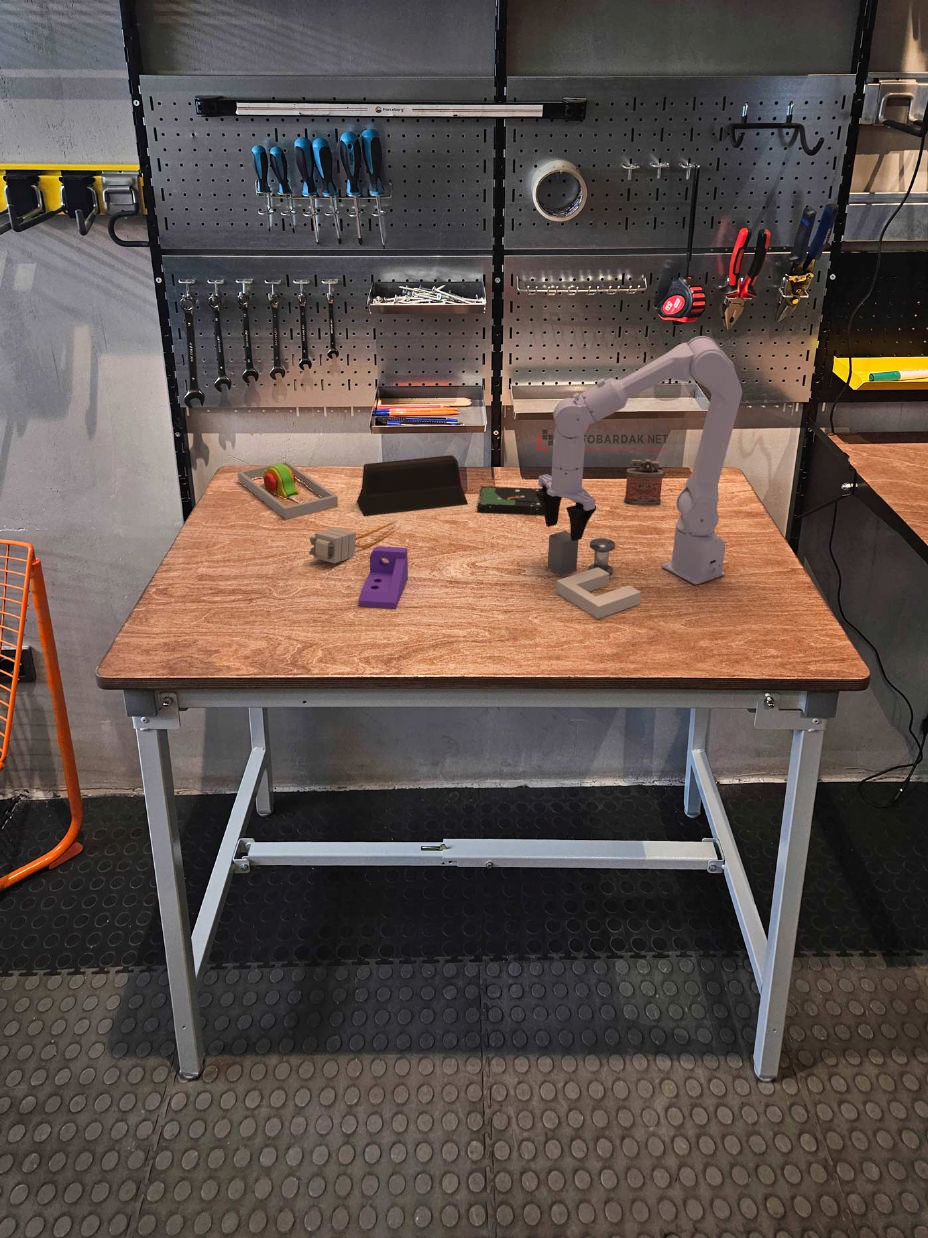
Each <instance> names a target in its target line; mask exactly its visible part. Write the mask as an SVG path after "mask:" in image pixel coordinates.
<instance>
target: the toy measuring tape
mask: <svg viewBox="0 0 928 1238" xmlns="http://www.w3.org/2000/svg"><path fill="white" fill-rule="evenodd" d="M262 479H263V485H264V486H265V488H266V490H267V491H268V492H269V491H270V492H271V491H272V492H273V493H275V494H277V495H279V496H282V497H283V498H289V499H291V500H293V501H294V502H295V503H296V502H299V501H297V500H296V499H294V497H292V496H295V495H298V494H299V495H300V493H299V490H298V489H297V487H296V481H297V480H296V478H295V474H294V472H293V471H292V470H291V469H289V467H287V466H286V465H283V464H278V465H274V466H271V467H269V468H268V469H267V470H264V474H263V478H262ZM272 492H271V493H272ZM273 493H272V494H273ZM275 494H274V495H275ZM277 495H276V496H277ZM279 496H278V497H279ZM297 497H298V498H301V497H299V496H297ZM283 498H282V499H283ZM302 499H303V500H305V501H306V502H308V500H307V499H304V498H302Z"/></svg>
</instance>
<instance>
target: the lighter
mask: <svg viewBox="0 0 928 1238" xmlns="http://www.w3.org/2000/svg"><path fill="white" fill-rule="evenodd" d="M631 467H633V468H631ZM659 467H660V461H656V460H655V461H654V460H651V459H650V458H646V459H645V460H642V459H632V460H630V468H626V485H625V496H624V499H623V503H624V504H627V505H632V506H644V507H645V506H647V507H648V506H651V507H652V506H659V505H661V503H662V499H661V496H662V495H661V494H662V484H663V478H664V477H663V476H664V474H665V471H664V470H663V469H659Z"/></svg>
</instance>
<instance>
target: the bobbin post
mask: <svg viewBox="0 0 928 1238" xmlns="http://www.w3.org/2000/svg"><path fill="white" fill-rule="evenodd" d="M589 548H590V549H591V550H593V551H594V557H593V564H590V565H589V566H588V568H587V571H588V570H591V569H594V568H597V567H599V568H600V569H602V570H604V571H606V572H607V573H609V577H610V576H612V575H613V573H614V568H613V567H612V565H609V562H610V561H609V560H610V552H611V551H614V550H615V549H616V543H615V541H613V540H612V539H608V538H604V537H599V538H597V537H596V538H593V539H592V540H590V542H589Z"/></svg>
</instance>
